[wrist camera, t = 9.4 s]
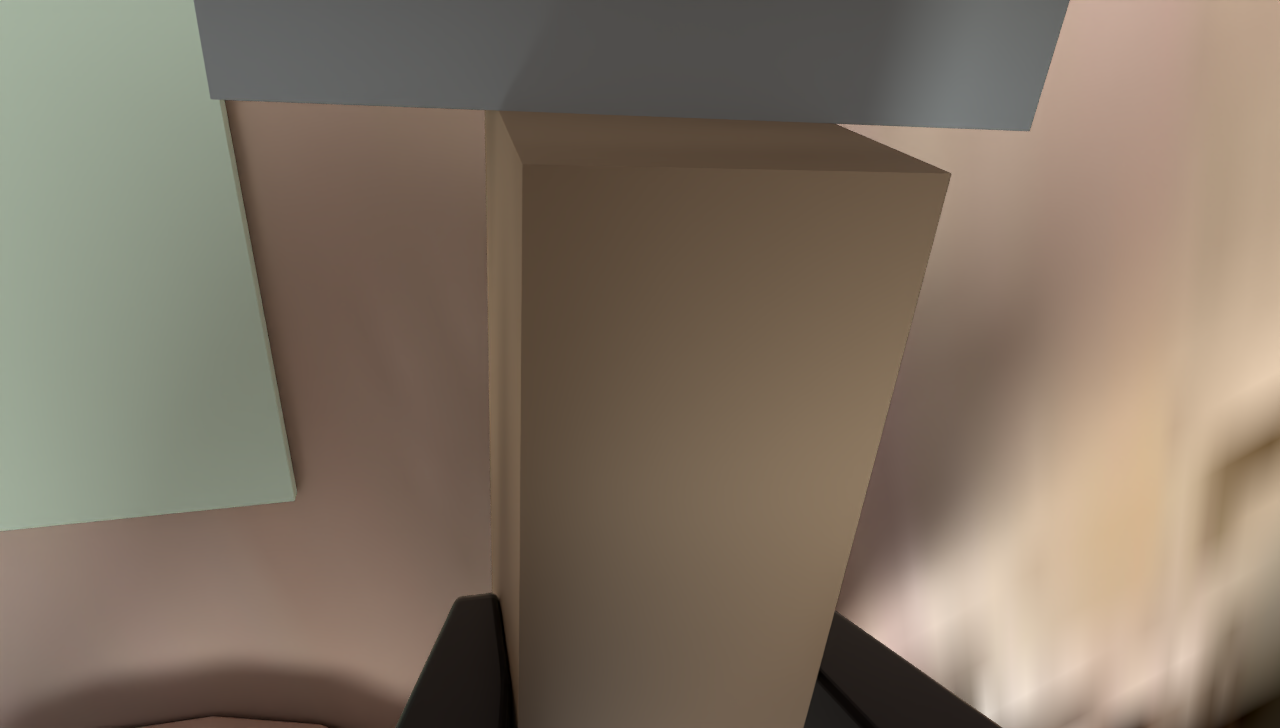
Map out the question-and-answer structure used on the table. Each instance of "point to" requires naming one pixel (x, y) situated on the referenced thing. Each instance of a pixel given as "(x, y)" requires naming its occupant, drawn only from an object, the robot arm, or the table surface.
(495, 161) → the turner
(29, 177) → the mat
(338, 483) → the table surface
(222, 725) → the hourglass
